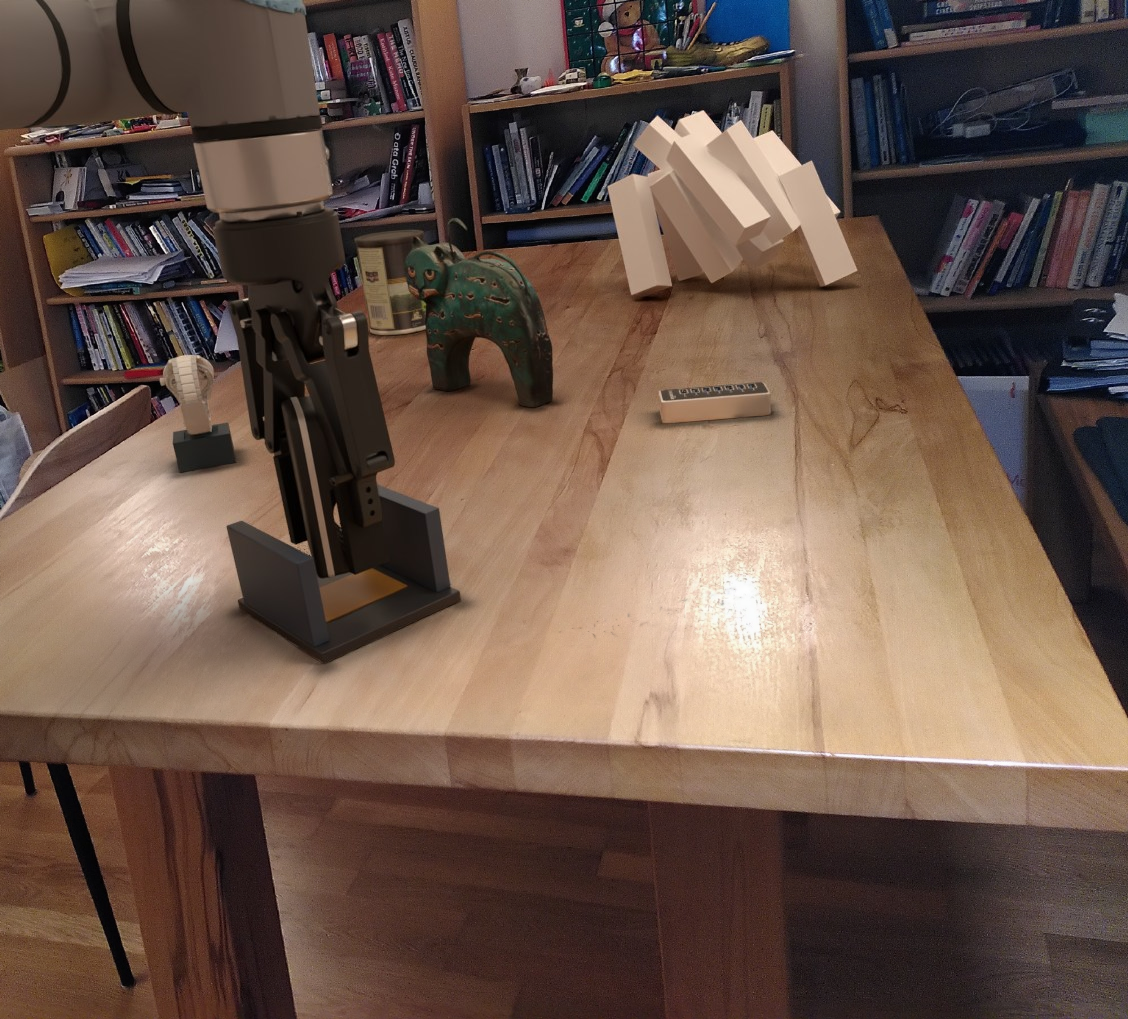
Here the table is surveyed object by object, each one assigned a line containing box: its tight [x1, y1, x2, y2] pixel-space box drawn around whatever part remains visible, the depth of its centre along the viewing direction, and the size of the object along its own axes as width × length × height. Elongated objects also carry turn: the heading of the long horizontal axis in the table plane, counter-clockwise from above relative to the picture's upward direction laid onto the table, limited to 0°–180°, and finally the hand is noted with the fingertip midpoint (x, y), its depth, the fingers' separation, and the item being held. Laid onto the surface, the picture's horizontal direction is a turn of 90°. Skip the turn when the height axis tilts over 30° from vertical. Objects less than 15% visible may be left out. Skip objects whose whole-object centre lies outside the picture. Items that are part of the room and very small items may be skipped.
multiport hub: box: [658, 381, 772, 424], centre depth 107 cm, size 4×11×2 cm, turn 89°
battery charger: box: [281, 395, 349, 578], centre depth 70 cm, size 7×4×11 cm, turn 19°
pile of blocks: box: [607, 110, 858, 297], centre depth 165 cm, size 35×30×35 cm
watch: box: [159, 354, 237, 473], centre depth 105 cm, size 6×8×11 cm
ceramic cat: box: [405, 217, 554, 408], centre depth 118 cm, size 20×6×20 cm, turn 45°
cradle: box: [225, 484, 461, 664], centre depth 72 cm, size 12×11×7 cm
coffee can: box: [354, 229, 426, 336], centre depth 158 cm, size 10×10×14 cm
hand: (338, 550), depth 72 cm, fingers closed on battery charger, 7 cm apart
